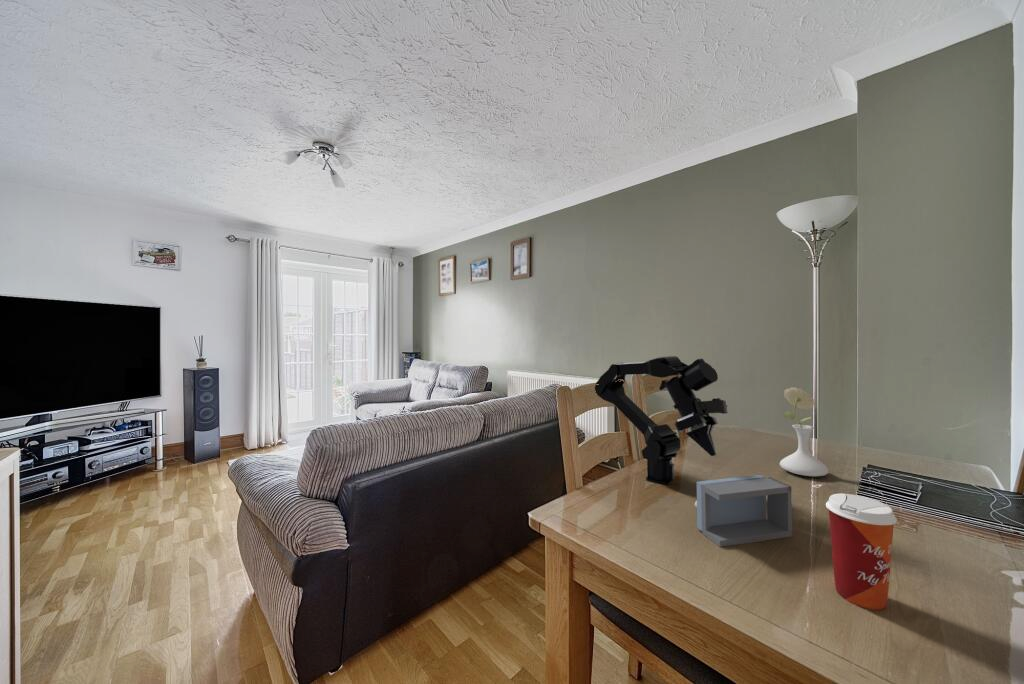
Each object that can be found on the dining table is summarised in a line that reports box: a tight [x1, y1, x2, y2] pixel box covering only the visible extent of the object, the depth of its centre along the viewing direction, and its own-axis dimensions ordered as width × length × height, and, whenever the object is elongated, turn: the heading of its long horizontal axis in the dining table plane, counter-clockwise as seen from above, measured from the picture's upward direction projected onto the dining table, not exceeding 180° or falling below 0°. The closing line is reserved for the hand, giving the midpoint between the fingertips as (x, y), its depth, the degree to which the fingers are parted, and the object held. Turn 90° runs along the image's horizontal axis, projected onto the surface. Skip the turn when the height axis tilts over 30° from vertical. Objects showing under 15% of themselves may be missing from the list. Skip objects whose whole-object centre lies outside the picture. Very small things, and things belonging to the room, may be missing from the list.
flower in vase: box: [779, 386, 830, 478], centre depth 111 cm, size 13×11×25 cm
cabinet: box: [701, 477, 793, 548], centre depth 77 cm, size 5×17×10 cm, turn 100°
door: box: [694, 474, 767, 532], centre depth 81 cm, size 3×17×10 cm, turn 101°
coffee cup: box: [825, 493, 898, 611], centre depth 59 cm, size 8×8×15 cm
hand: (714, 455), depth 93 cm, fingers closed
